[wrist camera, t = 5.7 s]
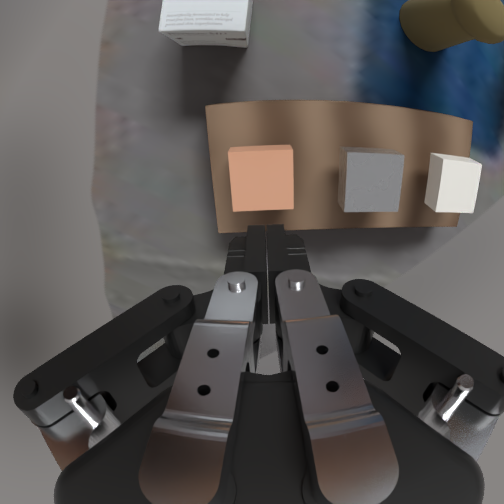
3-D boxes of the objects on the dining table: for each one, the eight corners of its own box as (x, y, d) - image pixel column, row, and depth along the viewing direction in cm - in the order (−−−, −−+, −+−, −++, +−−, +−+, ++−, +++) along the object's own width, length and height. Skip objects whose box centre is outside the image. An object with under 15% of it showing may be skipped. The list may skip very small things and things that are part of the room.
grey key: (393, 149, 20) (404, 155, 18) (388, 202, 22) (398, 211, 20) (339, 146, 20) (347, 152, 18) (337, 202, 22) (344, 212, 21)
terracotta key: (289, 144, 21) (293, 149, 19) (290, 199, 23) (293, 209, 21) (230, 147, 21) (227, 152, 19) (234, 201, 23) (232, 211, 22)
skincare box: (181, 47, 21) (155, 33, 15) (188, -9, 18) (166, -37, 12) (249, 48, 21) (246, 32, 15) (255, -9, 18) (255, -40, 12)
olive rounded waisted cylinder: (426, -8, 16) (491, -30, 7) (457, 41, 18) (529, 38, 9) (387, 10, 18) (449, -18, 9) (422, 60, 20) (494, 59, 11)
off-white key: (468, 157, 20) (481, 164, 18) (461, 203, 22) (472, 212, 20) (430, 152, 20) (443, 159, 18) (424, 202, 22) (435, 212, 20)
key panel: (450, 115, 23) (472, 121, 19) (438, 210, 29) (456, 226, 25) (212, 104, 24) (205, 105, 21) (223, 214, 30) (218, 233, 26)
